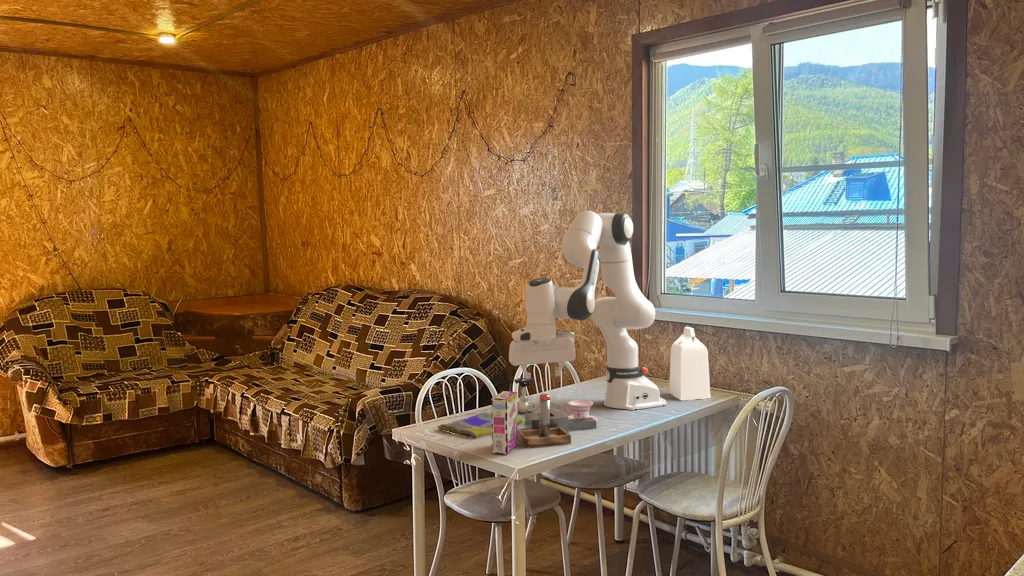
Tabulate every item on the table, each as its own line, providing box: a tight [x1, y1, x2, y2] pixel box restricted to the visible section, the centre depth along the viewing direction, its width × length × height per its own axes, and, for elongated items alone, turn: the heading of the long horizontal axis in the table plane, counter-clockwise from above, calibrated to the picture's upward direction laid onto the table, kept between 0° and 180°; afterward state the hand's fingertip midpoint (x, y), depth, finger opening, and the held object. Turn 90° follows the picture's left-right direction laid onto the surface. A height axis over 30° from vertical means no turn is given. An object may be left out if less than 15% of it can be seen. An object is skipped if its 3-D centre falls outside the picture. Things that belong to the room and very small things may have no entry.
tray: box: [518, 427, 572, 448], centre depth 235 cm, size 14×10×2 cm
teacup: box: [565, 399, 600, 423], centre depth 259 cm, size 12×12×6 cm
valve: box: [513, 377, 535, 414], centre depth 271 cm, size 7×7×12 cm
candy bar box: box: [491, 390, 519, 456], centre depth 228 cm, size 11×5×16 cm, turn 163°
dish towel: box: [437, 411, 523, 439], centre depth 254 cm, size 18×24×3 cm
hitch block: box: [524, 410, 597, 434], centre depth 249 cm, size 22×9×5 cm, turn 103°
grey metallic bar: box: [538, 393, 551, 438], centre depth 235 cm, size 3×3×14 cm
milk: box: [668, 326, 712, 401], centre depth 289 cm, size 12×12×26 cm
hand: (543, 377), depth 234 cm, fingers open, 8 cm apart
